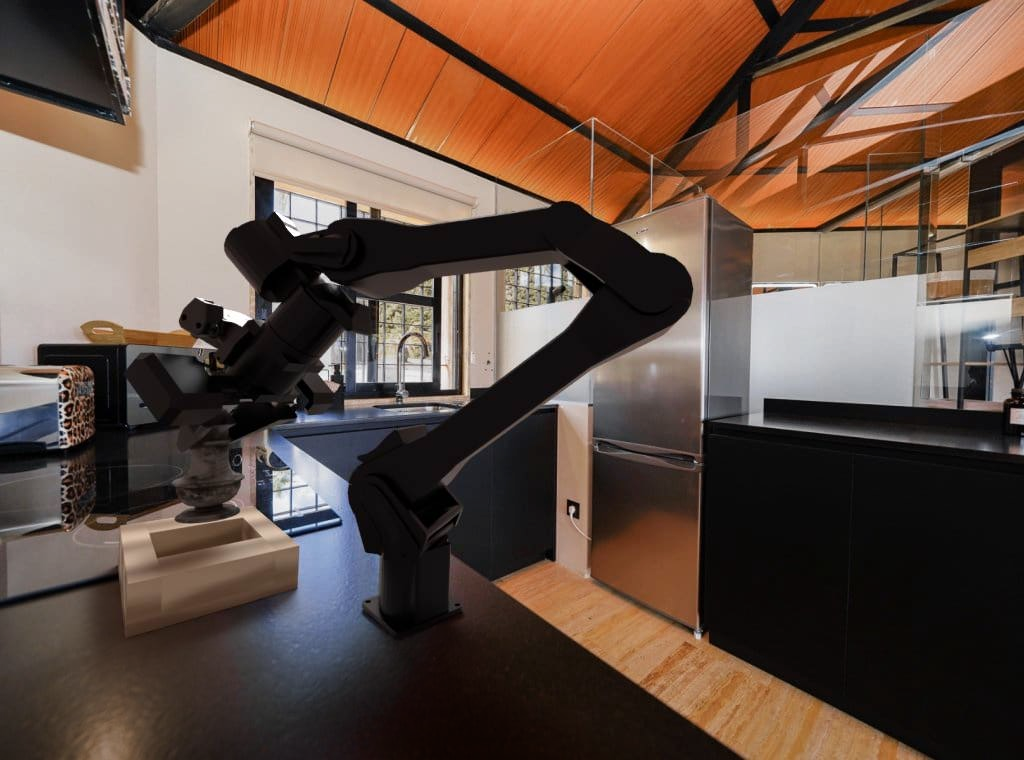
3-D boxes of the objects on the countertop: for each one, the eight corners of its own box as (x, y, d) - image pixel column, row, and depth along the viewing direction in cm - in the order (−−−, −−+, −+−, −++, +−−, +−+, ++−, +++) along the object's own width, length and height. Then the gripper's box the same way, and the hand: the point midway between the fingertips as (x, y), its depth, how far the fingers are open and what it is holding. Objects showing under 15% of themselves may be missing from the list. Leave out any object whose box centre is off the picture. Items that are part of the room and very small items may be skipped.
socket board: (297, 587, 40) (299, 545, 40) (125, 638, 31) (128, 584, 31) (251, 538, 52) (252, 505, 52) (117, 564, 43) (119, 525, 43)
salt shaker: (235, 521, 40) (239, 395, 40) (159, 527, 38) (163, 394, 38) (249, 504, 45) (253, 393, 45) (184, 509, 43) (187, 393, 43)
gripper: (314, 299, 50) (236, 389, 52) (147, 246, 32) (38, 388, 34) (371, 365, 48) (287, 455, 50) (227, 348, 30) (105, 491, 32)
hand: (199, 446), depth 42 cm, fingers closed on salt shaker, 4 cm apart
